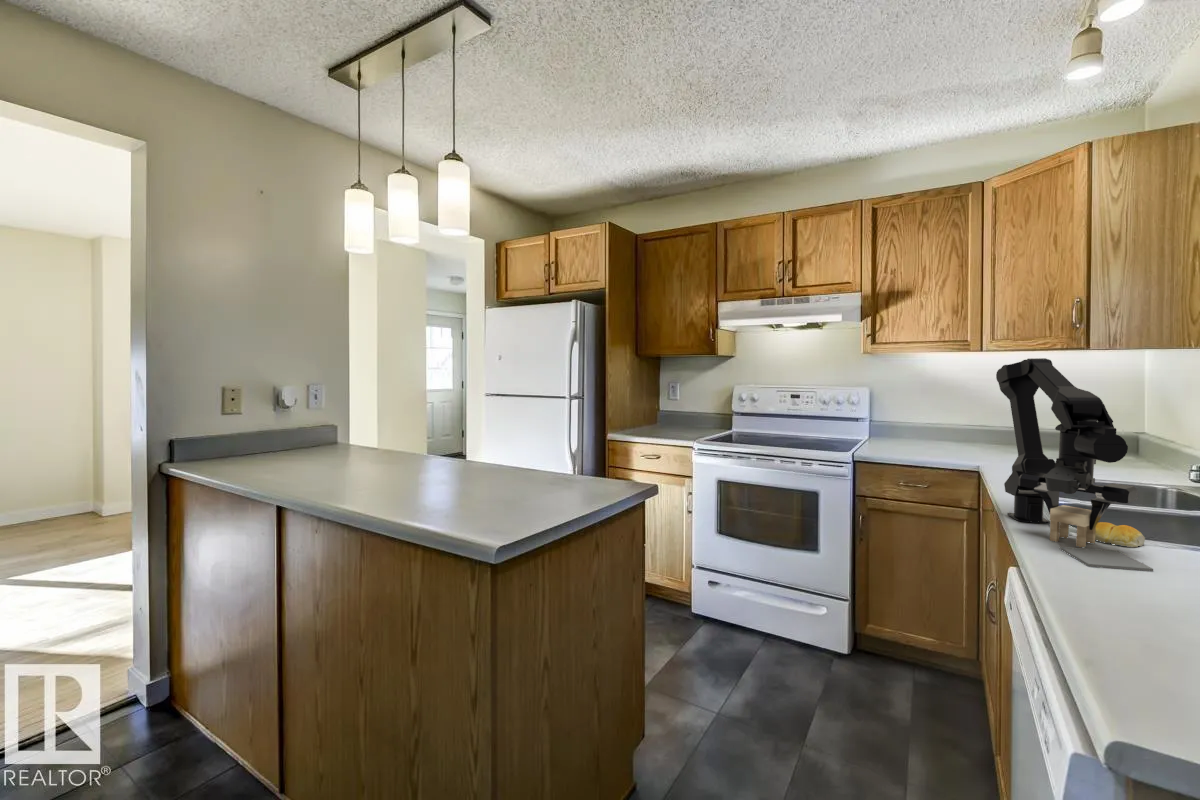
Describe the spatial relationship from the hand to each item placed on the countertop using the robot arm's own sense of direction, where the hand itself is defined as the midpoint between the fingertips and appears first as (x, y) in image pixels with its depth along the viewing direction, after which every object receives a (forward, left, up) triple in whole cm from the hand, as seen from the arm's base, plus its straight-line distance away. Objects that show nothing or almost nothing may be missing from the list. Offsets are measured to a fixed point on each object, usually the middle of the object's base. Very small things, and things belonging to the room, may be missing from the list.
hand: (1072, 525), depth 118 cm
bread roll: (-3, +9, -4) cm, 10 cm away
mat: (+11, 0, -4) cm, 12 cm away
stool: (0, 0, -4) cm, 4 cm away
